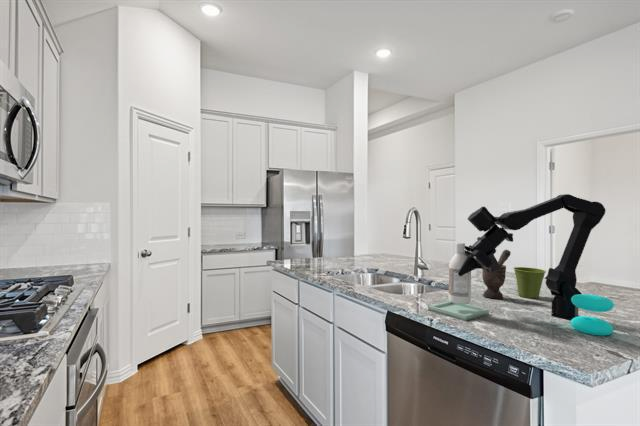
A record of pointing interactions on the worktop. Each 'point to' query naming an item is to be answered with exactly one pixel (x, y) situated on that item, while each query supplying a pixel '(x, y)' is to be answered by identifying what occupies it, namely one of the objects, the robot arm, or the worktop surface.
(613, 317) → the worktop surface
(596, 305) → the donuts
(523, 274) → the plant pot
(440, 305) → the tray
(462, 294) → the bath foam
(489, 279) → the mortar and pestle
